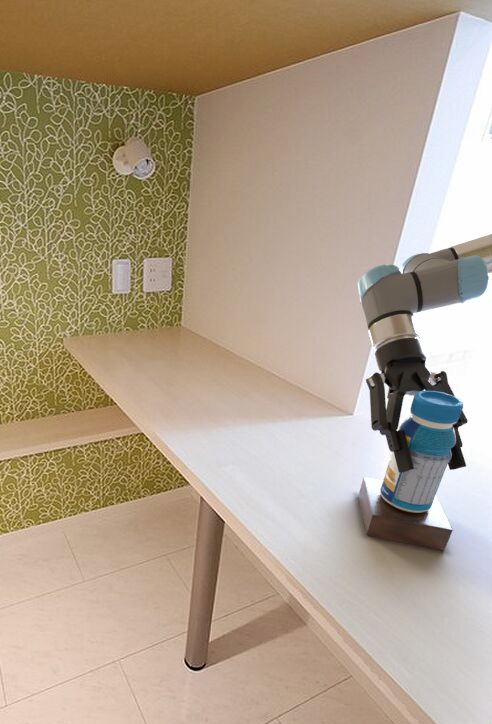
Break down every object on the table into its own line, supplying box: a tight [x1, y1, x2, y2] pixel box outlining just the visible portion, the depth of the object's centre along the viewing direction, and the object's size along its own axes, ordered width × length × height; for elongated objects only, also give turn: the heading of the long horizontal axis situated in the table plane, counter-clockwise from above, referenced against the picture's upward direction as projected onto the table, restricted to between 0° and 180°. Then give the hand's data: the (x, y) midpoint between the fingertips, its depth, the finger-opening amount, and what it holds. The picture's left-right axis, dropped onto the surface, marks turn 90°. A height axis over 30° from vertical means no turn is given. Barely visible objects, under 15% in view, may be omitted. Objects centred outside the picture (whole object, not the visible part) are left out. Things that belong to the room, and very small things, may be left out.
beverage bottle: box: [380, 390, 464, 513], centre depth 73 cm, size 8×8×20 cm
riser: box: [357, 476, 454, 552], centre depth 79 cm, size 12×12×4 cm
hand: (432, 469), depth 71 cm, fingers closed on beverage bottle, 8 cm apart
